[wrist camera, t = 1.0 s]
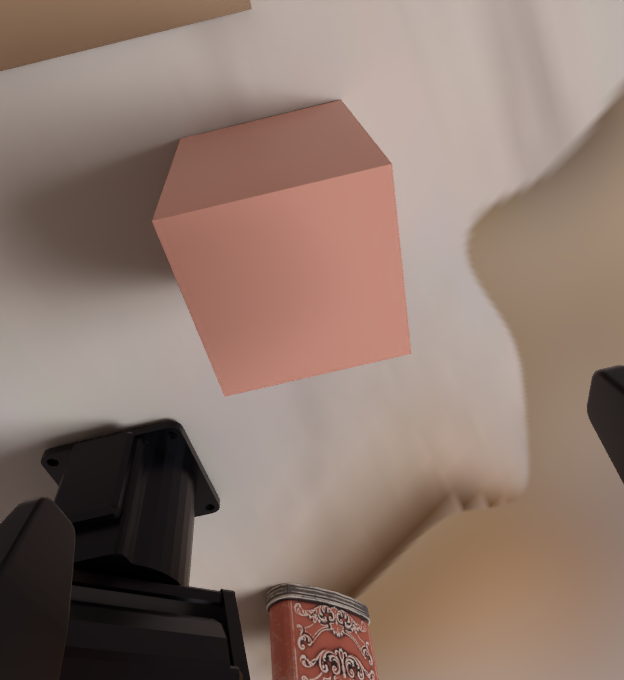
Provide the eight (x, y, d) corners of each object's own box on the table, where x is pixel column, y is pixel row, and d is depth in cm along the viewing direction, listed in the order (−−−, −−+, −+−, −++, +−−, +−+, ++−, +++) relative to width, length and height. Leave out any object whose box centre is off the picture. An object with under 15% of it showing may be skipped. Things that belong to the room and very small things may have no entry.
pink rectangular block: (363, 247, 19) (411, 353, 14) (228, 278, 19) (224, 396, 14) (341, 99, 16) (391, 163, 11) (180, 138, 16) (151, 221, 11)
